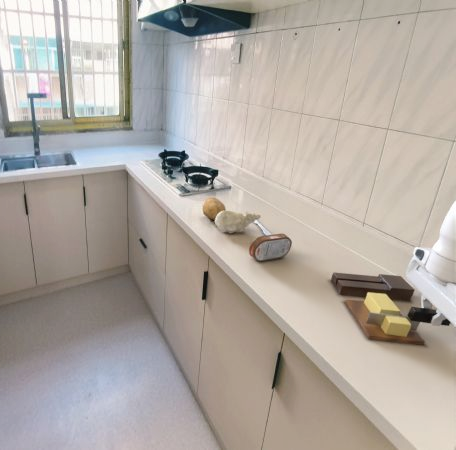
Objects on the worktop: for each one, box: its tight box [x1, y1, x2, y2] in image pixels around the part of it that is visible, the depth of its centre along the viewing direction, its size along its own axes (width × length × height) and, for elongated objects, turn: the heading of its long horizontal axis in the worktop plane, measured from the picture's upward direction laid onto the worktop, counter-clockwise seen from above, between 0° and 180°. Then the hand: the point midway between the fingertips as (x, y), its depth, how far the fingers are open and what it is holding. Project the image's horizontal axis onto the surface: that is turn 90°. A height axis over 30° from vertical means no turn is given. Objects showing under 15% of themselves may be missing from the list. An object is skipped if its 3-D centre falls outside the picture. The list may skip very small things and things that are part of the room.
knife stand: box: [330, 271, 415, 302], centre depth 95 cm, size 18×7×4 cm, turn 83°
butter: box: [364, 292, 401, 316], centre depth 85 cm, size 4×7×4 cm, turn 173°
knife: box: [366, 306, 452, 331], centre depth 78 cm, size 16×2×6 cm, turn 81°
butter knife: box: [247, 211, 273, 236], centre depth 137 cm, size 1×24×3 cm
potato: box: [201, 196, 227, 221], centre depth 139 cm, size 10×14×8 cm
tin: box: [248, 233, 293, 262], centre depth 109 cm, size 15×3×8 cm, turn 110°
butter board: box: [344, 299, 426, 346], centre depth 83 cm, size 12×14×1 cm
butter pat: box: [381, 316, 411, 337], centre depth 78 cm, size 4×2×4 cm, turn 81°
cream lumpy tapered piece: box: [214, 210, 262, 235], centre depth 129 cm, size 15×7×15 cm
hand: (429, 318), depth 78 cm, fingers closed on knife, 2 cm apart
